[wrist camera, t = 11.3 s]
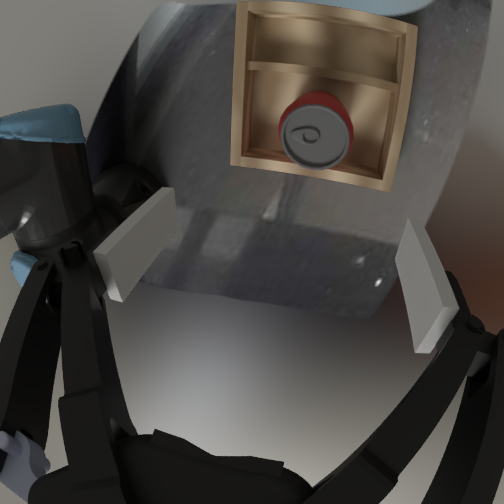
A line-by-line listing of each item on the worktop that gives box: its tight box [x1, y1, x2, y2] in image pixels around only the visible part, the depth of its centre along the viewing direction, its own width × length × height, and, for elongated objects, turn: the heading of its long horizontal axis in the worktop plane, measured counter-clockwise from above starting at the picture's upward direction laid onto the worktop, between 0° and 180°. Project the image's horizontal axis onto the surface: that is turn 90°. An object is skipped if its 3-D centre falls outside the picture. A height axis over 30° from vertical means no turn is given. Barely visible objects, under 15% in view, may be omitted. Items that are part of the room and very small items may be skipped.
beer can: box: [278, 91, 354, 170], centre depth 26 cm, size 7×7×12 cm
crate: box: [231, 1, 418, 192], centre depth 27 cm, size 18×19×5 cm
